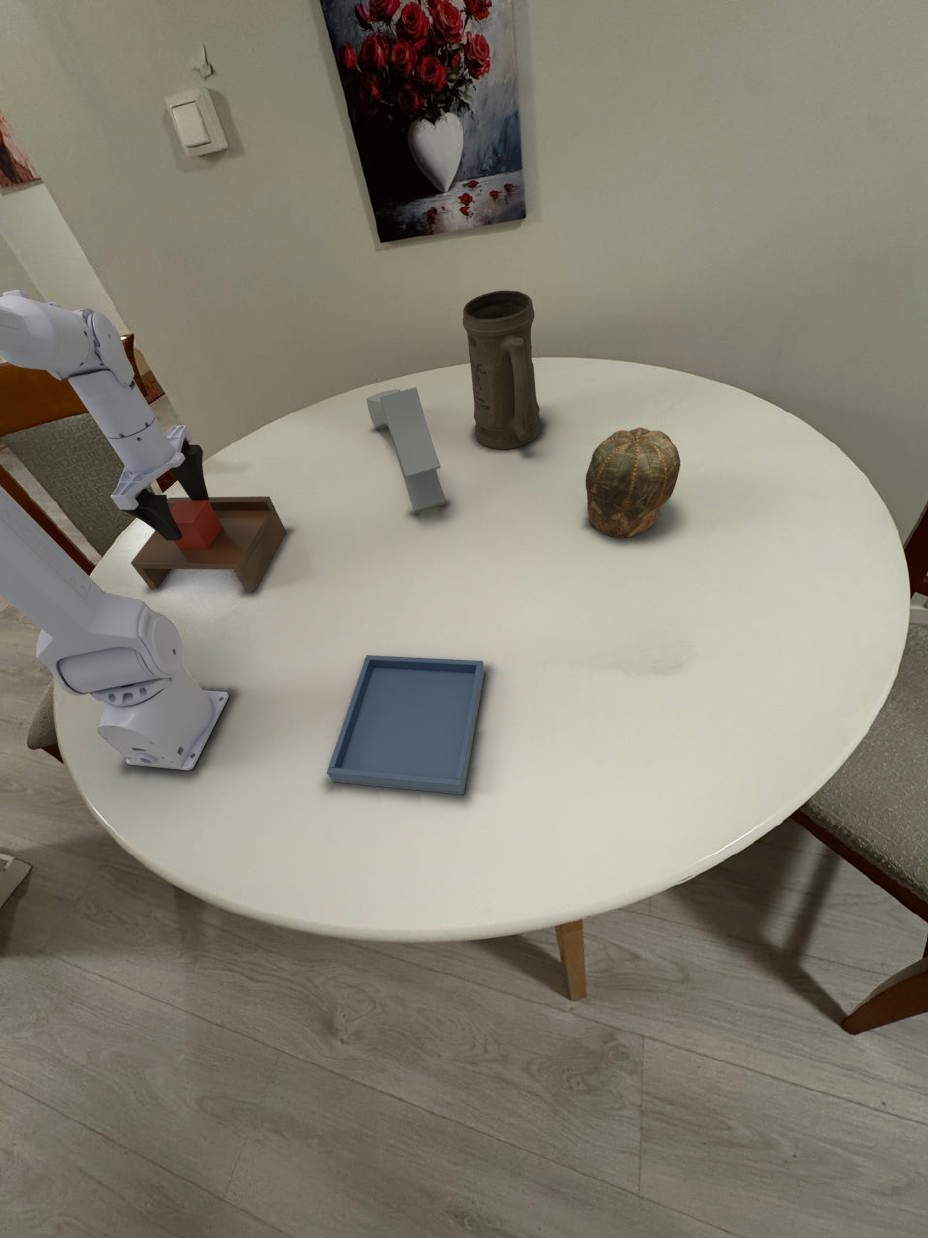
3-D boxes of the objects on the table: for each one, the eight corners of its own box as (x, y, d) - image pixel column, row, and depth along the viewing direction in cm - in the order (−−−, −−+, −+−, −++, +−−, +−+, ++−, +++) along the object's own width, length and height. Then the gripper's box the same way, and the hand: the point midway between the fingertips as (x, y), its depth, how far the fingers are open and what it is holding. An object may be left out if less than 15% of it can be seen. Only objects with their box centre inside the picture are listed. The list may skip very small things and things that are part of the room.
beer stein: (462, 425, 97) (446, 301, 82) (519, 404, 99) (514, 279, 84) (505, 475, 88) (497, 346, 73) (566, 450, 90) (571, 320, 74)
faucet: (393, 492, 105) (414, 524, 77) (364, 396, 98) (375, 394, 71) (426, 483, 105) (458, 511, 78) (399, 387, 99) (424, 380, 71)
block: (208, 549, 76) (192, 522, 73) (178, 549, 77) (161, 522, 74) (223, 526, 79) (207, 500, 76) (194, 526, 80) (177, 500, 77)
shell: (672, 547, 72) (686, 464, 63) (582, 544, 75) (583, 464, 66) (670, 493, 79) (682, 411, 70) (587, 492, 81) (589, 413, 72)
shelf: (254, 592, 77) (233, 555, 72) (150, 589, 81) (123, 554, 76) (286, 532, 85) (269, 496, 80) (190, 531, 88) (168, 497, 83)
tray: (463, 795, 54) (460, 785, 53) (332, 782, 57) (326, 772, 56) (484, 671, 63) (482, 660, 62) (370, 665, 66) (366, 654, 65)
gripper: (125, 461, 60) (189, 557, 70) (190, 390, 70) (238, 484, 80) (69, 462, 62) (139, 556, 72) (139, 393, 71) (193, 485, 81)
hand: (188, 519), depth 76 cm, fingers open, 7 cm apart
